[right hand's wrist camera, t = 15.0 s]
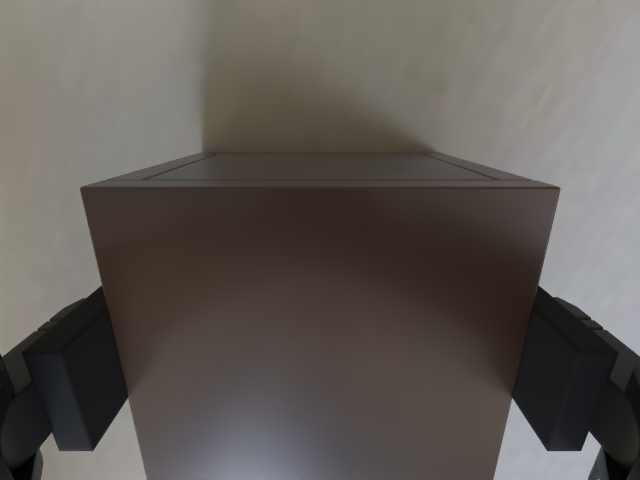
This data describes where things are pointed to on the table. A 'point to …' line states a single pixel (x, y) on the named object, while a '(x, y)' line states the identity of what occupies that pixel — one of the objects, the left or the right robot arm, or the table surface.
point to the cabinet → (320, 311)
